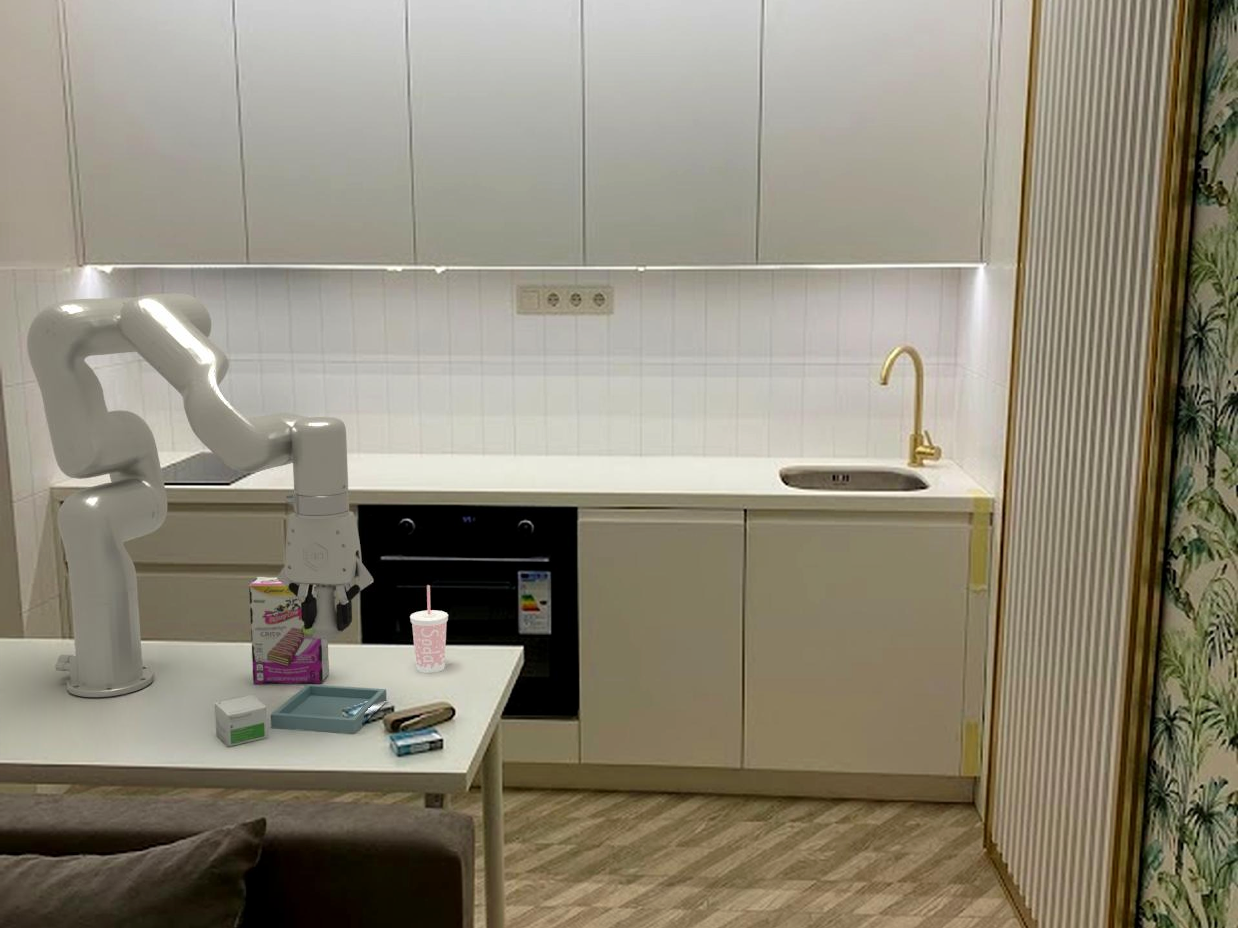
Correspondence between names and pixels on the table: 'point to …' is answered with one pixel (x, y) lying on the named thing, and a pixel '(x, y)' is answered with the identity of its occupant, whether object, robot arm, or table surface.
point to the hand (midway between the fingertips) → (327, 626)
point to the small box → (240, 720)
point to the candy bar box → (283, 637)
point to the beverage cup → (429, 638)
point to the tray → (325, 708)
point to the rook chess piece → (325, 613)
